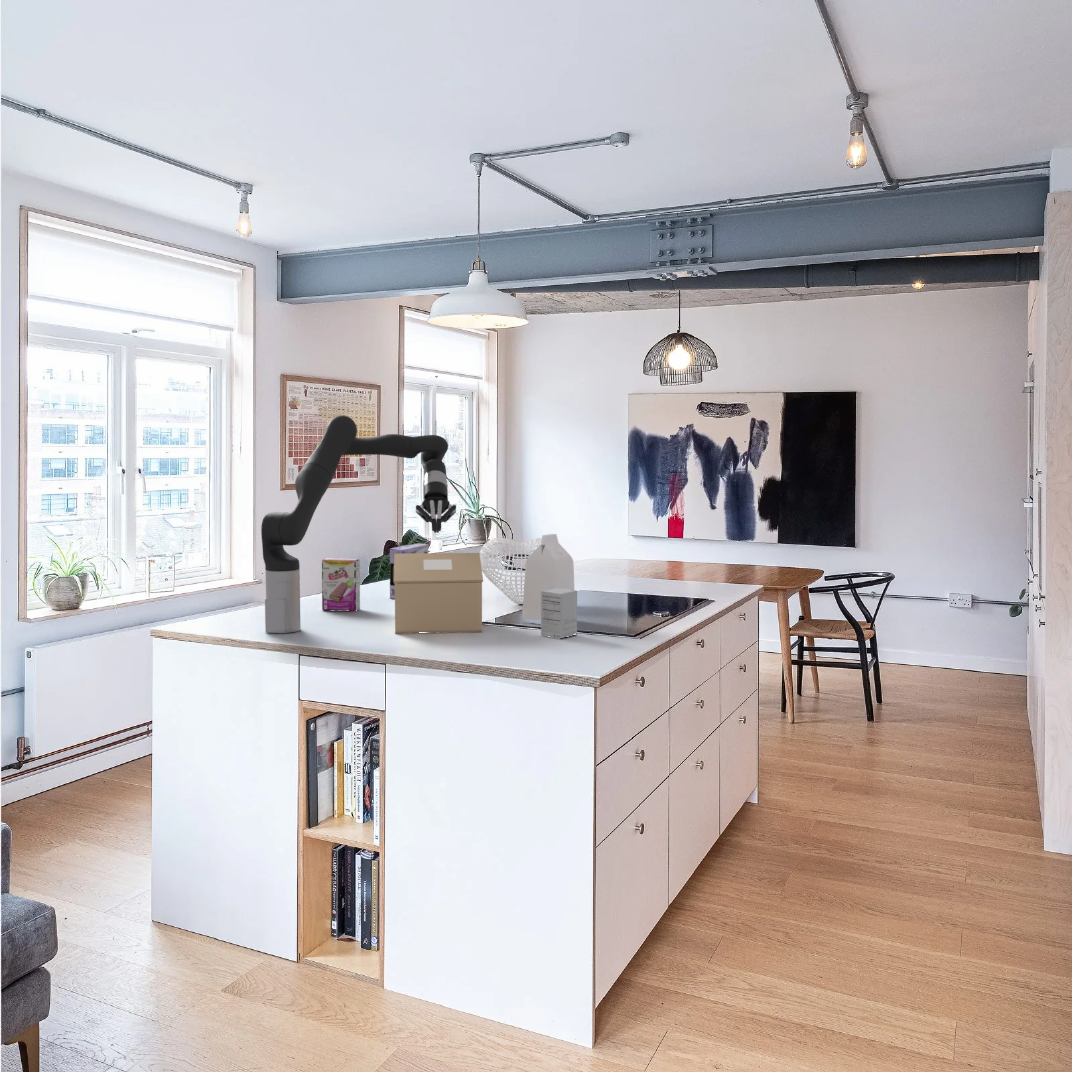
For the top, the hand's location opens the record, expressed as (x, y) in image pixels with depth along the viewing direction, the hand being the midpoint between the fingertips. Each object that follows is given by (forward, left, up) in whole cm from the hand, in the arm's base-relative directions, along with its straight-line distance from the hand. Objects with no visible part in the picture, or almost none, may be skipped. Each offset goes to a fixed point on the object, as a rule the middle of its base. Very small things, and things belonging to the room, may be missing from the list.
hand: (436, 530), depth 286 cm
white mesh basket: (+31, -18, -27) cm, 44 cm away
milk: (+4, -34, -27) cm, 43 cm away
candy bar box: (+5, +34, -27) cm, 43 cm away
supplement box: (-17, -42, -27) cm, 53 cm away
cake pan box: (+39, +25, -27) cm, 53 cm away
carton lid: (-16, -6, -9) cm, 19 cm away
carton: (-15, -6, -26) cm, 31 cm away
